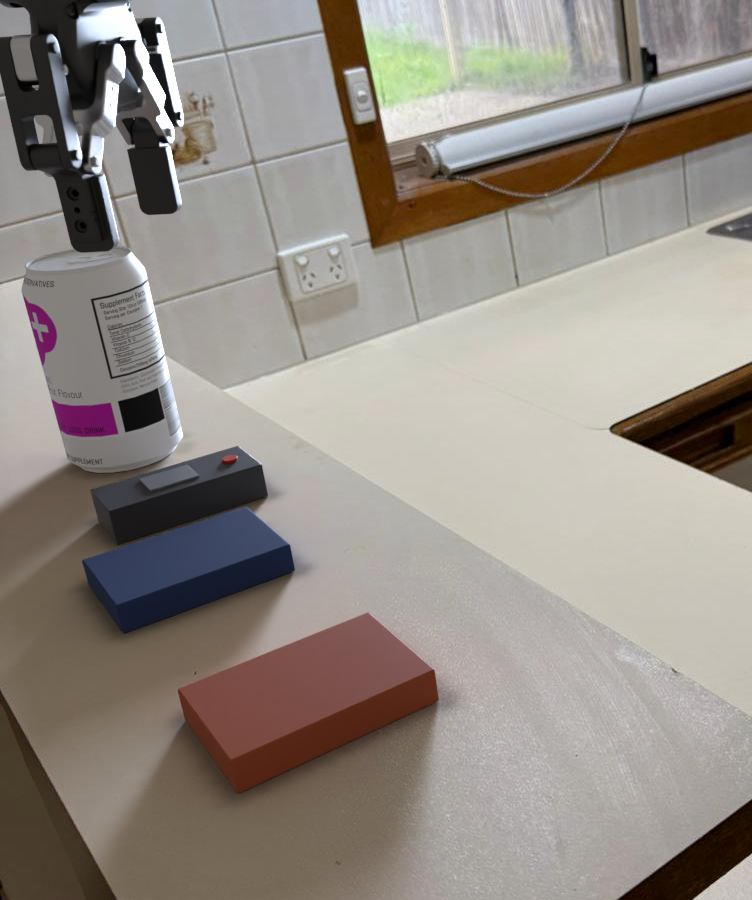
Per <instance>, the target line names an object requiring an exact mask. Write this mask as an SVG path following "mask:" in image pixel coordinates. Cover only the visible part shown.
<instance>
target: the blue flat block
mask: <svg viewBox="0 0 752 900" xmlns="http://www.w3.org/2000/svg"><path fill="white" fill-rule="evenodd" d="M81 562H82V566H83V569H84V574H85V577H86V580H87V585H88V587H89V588H90V590H91V591H92V592H93V593H94V595H95V596H96V598H97V599H98V600H99V602H100V604H101V605H102V606H103V608H104V609H105V610H106V612H107V613H108V615H109V616H110V617H111V619H112V620H113V621H114V623H115V624H116V626H117V627H118V628H119V630H120V631H121V633H122V634H126V633H129V632H132V631H135V630H137V629H140V628H143V627H145V626H149V625H151V624H154V623H157V622H160V621H162V620H165V619H167V618H171V617H173V616H176V615H178V614H181V613H184V612H186V611H189V610H192V609H195V608H197V607H201V606H203V605H206V604H208V603H211V602H214V601H216V600H219V599H221V598H225V597H227V596H230V595H233V594H236V593H238V592H241V591H244V590H246V589H249V588H252V587H255V586H258V585H260V584H263V583H266V582H269V581H271V580H274V579H276V578H279V577H282V576H284V575H288V574H290V573H293V572H295V571H296V568H295V564H294V563H295V562H294V557H293V552H292V546H291V544H290V543H289V542H288V541H287V540H285V539H284V538H283V537H282V536H281V535H280V534H279V533H278V532H276V531H275V530H274V529H273V528H272V527H271V526H269V525H268V524H267V523H266V522H265V521H264V520H263V519H261V517H259V516H258V515H257V514H256V513H255V512H254V511H252V510H251V509H250V508H249V507H247V506H243V507H240V508H236V509H233V510H230V511H227V512H225V513H221V514H218V515H215V516H212V517H209V518H206V519H203V520H199V521H196V522H194V523H191V524H188V525H185V526H181V527H179V528H175V529H172V530H170V531H166V532H163V533H159V534H157V535H154V536H150V537H147V538H145V539H142V540H138V541H136V542H131V543H129V544H126V545H123V546H120V547H117V548H114V549H111V550H108V551H105V552H102V553H99V554H96V555H93V556H90V557H87V558H84V559H82V560H81Z"/></svg>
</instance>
